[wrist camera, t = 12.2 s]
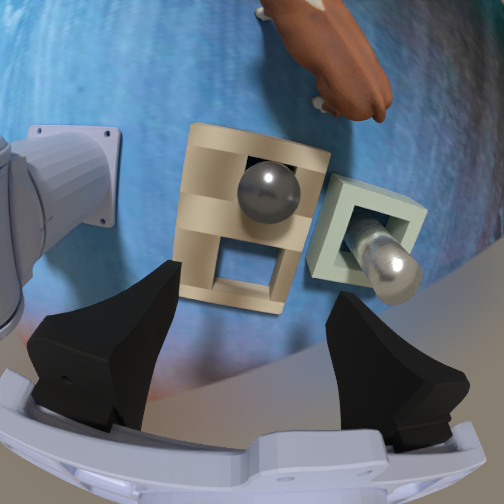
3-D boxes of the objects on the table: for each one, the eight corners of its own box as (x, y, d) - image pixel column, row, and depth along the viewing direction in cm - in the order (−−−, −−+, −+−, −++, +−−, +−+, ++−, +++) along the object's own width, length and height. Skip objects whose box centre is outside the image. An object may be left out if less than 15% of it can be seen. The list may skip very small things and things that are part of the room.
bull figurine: (284, -39, 12) (299, -99, 5) (366, 112, 18) (426, 118, 10) (228, -22, 13) (215, -81, 6) (311, 132, 19) (347, 146, 11)
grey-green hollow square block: (305, 257, 23) (311, 277, 20) (331, 172, 20) (343, 182, 17) (379, 271, 24) (392, 291, 21) (409, 197, 21) (427, 210, 18)
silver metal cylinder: (334, 239, 22) (368, 300, 15) (348, 205, 21) (391, 254, 14) (366, 248, 23) (407, 308, 16) (380, 215, 21) (430, 266, 14)
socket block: (175, 280, 24) (169, 294, 22) (196, 122, 18) (190, 123, 17) (278, 299, 25) (280, 314, 23) (324, 149, 19) (331, 153, 17)
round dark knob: (235, 197, 21) (231, 217, 17) (246, 148, 19) (244, 157, 15) (284, 207, 21) (291, 229, 17) (297, 159, 19) (307, 171, 16)
